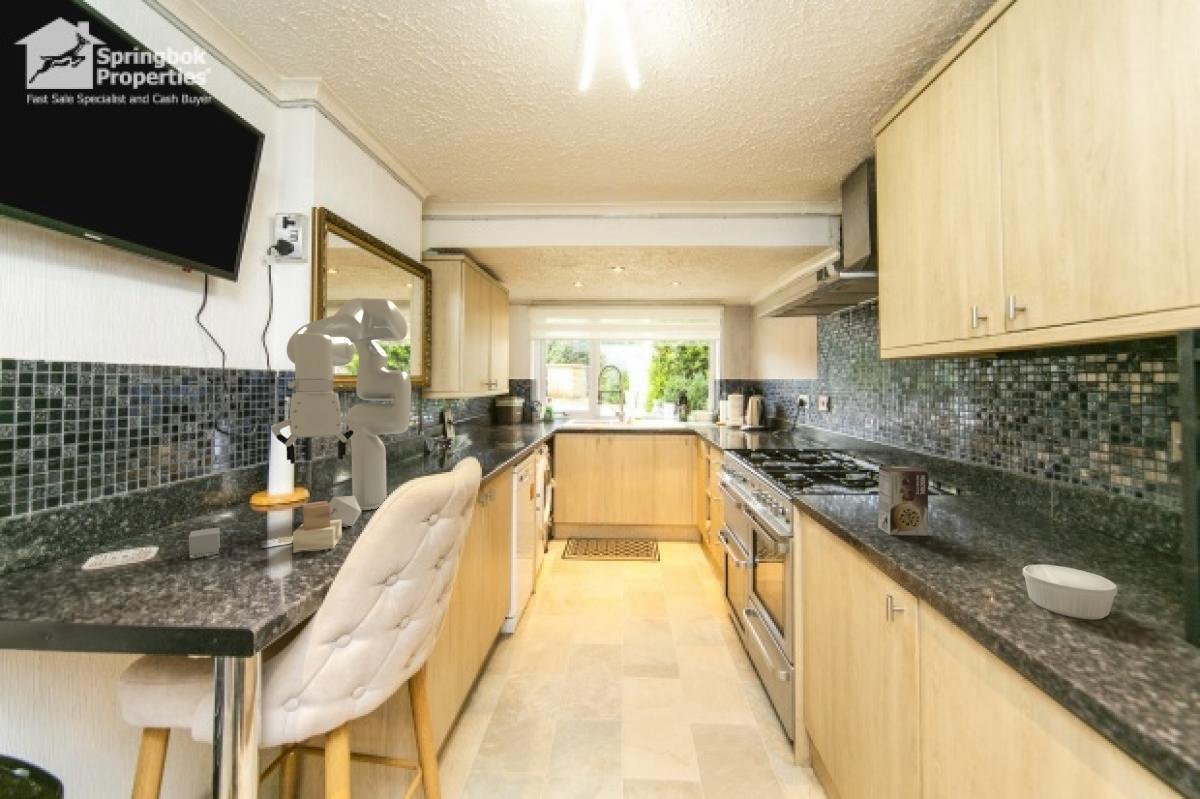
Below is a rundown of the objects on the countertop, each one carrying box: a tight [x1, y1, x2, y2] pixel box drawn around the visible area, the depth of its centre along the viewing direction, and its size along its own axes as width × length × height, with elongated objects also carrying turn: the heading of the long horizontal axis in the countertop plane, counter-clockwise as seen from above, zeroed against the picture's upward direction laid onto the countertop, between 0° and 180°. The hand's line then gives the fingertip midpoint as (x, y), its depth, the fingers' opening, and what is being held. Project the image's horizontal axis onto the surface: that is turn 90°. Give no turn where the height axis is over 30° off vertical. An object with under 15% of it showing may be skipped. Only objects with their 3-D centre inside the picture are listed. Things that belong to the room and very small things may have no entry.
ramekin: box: [1022, 564, 1119, 620], centre depth 80 cm, size 11×11×5 cm
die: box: [328, 495, 363, 527], centre depth 127 cm, size 8×9×10 cm
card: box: [273, 535, 293, 543], centre depth 114 cm, size 6×8×1 cm
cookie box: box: [877, 466, 929, 536], centre depth 120 cm, size 9×6×16 cm
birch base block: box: [292, 520, 343, 552], centre depth 112 cm, size 8×8×5 cm
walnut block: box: [302, 500, 330, 530], centre depth 112 cm, size 5×5×5 cm
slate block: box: [188, 526, 221, 556], centre depth 107 cm, size 5×5×5 cm
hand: (317, 460), depth 112 cm, fingers open, 9 cm apart
